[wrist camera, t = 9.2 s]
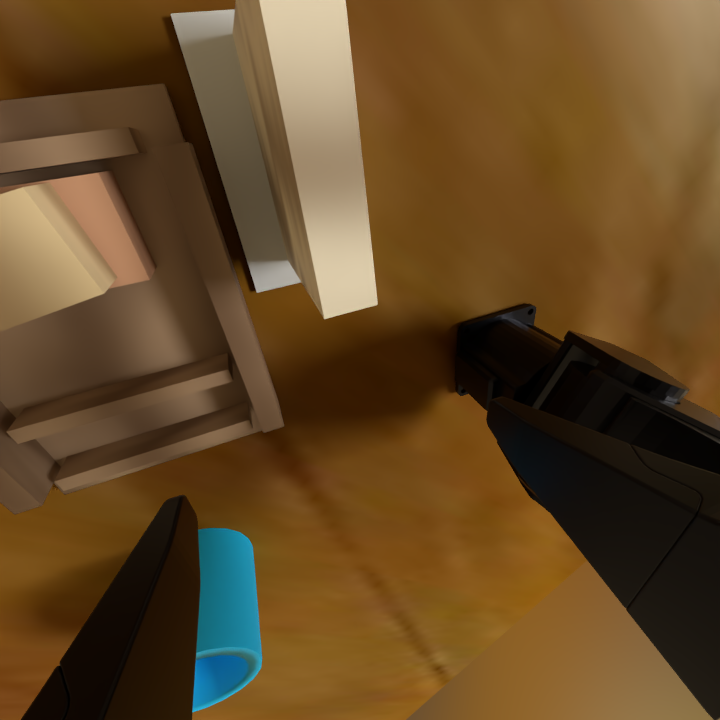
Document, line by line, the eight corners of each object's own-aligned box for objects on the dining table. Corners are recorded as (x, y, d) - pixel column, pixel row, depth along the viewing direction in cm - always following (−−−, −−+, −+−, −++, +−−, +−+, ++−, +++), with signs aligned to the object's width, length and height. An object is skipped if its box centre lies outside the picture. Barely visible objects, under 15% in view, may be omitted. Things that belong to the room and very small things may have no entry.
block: (323, 252, 19) (377, 304, 12) (287, 260, 18) (324, 319, 12) (282, 29, 14) (337, -78, 7) (232, 33, 13) (243, -77, 7)
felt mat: (324, 5, 14) (326, 3, 14) (358, 266, 20) (360, 267, 20) (171, 16, 13) (170, 13, 13) (256, 291, 19) (256, 292, 19)
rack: (174, 85, 14) (162, 69, 11) (284, 415, 24) (292, 449, 21) (-273, 134, 11) (-438, 127, 8) (64, 485, 21) (40, 536, 18)
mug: (130, 546, 25) (98, 686, 18) (247, 516, 28) (255, 630, 21) (168, 624, 31) (155, 751, 25) (261, 593, 34) (272, 701, 27)
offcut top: (49, 182, 12) (22, 187, 10) (117, 277, 14) (104, 293, 12) (-107, 231, 11) (-162, 244, 10) (-12, 324, 13) (-44, 347, 12)
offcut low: (112, 170, 14) (98, 173, 12) (156, 266, 16) (149, 279, 14) (-99, 202, 12) (-147, 209, 11) (-18, 303, 15) (-48, 322, 13)
